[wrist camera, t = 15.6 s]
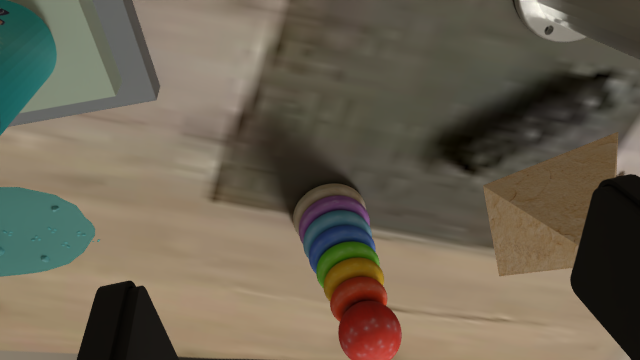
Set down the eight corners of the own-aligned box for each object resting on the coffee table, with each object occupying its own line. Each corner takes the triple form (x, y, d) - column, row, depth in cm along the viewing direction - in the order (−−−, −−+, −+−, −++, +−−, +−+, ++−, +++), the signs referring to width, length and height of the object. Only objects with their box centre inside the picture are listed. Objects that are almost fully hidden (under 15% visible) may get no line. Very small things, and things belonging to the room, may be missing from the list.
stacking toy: (277, 222, 51) (304, 374, 35) (321, 167, 48) (371, 306, 32) (334, 248, 54) (381, 397, 39) (377, 199, 51) (447, 338, 36)
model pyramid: (618, 228, 62) (680, 282, 54) (495, 275, 63) (538, 336, 55) (623, 125, 53) (698, 171, 44) (479, 182, 53) (527, 239, 45)
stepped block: (98, -102, 32) (77, -99, 27) (160, 86, 40) (152, 115, 35) (-116, -73, 31) (-178, -63, 26) (-9, 116, 39) (-42, 151, 34)
